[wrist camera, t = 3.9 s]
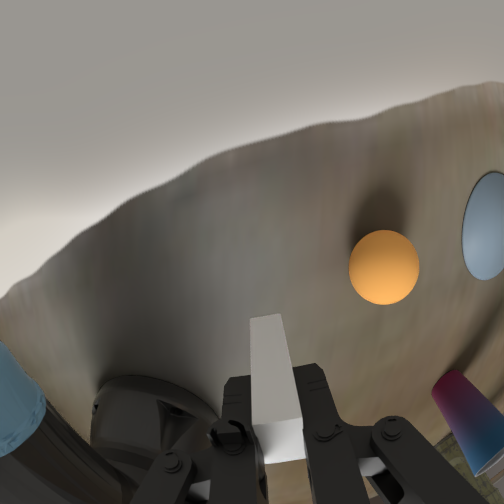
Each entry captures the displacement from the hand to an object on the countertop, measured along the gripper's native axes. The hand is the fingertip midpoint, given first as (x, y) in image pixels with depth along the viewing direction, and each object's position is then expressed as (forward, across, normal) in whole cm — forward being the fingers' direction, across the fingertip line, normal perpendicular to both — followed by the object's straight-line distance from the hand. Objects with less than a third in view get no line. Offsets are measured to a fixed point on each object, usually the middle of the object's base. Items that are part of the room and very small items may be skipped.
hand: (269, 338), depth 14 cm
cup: (+9, -22, +21) cm, 32 cm away
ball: (+6, -9, 0) cm, 11 cm away
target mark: (+9, -26, 0) cm, 28 cm away
